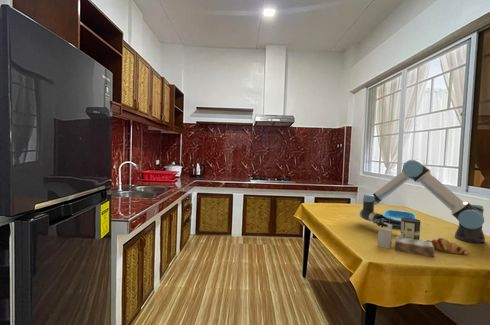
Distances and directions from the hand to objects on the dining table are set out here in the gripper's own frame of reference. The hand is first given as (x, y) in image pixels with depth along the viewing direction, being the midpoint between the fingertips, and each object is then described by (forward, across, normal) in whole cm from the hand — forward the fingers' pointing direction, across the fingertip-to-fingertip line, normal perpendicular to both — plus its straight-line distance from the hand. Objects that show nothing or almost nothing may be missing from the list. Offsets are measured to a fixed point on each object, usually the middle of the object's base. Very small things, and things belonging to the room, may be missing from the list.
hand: (400, 226), depth 171 cm
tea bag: (+11, +22, -8) cm, 25 cm away
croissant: (+22, -9, -8) cm, 25 cm away
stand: (+20, +10, -8) cm, 23 cm away
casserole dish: (-33, -31, -8) cm, 46 cm away
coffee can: (+7, 0, -8) cm, 10 cm away
